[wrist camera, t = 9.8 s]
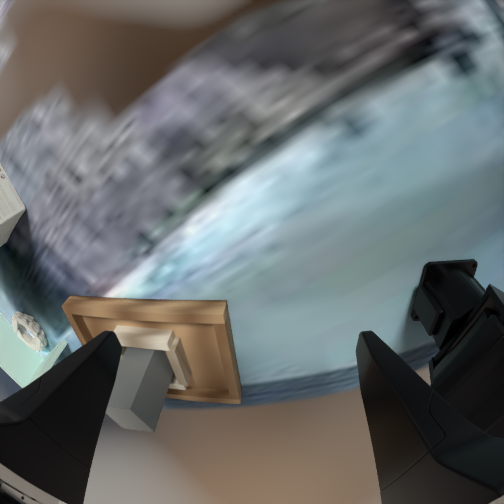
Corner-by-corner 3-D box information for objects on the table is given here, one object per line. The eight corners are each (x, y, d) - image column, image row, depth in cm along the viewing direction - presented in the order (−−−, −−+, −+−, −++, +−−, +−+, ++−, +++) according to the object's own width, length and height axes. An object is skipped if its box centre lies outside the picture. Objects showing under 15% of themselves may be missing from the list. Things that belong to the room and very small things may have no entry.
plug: (159, 338, 27) (130, 409, 19) (176, 363, 29) (154, 431, 21) (130, 341, 28) (98, 405, 20) (148, 365, 30) (122, 428, 22)
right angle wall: (69, 340, 31) (44, 379, 25) (47, 361, 35) (27, 392, 29) (11, 278, 28) (-21, 310, 21) (-1, 311, 32) (-25, 338, 25)
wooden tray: (226, 300, 25) (222, 319, 23) (241, 390, 31) (239, 408, 29) (70, 295, 27) (58, 309, 24) (113, 376, 33) (106, 390, 31)
